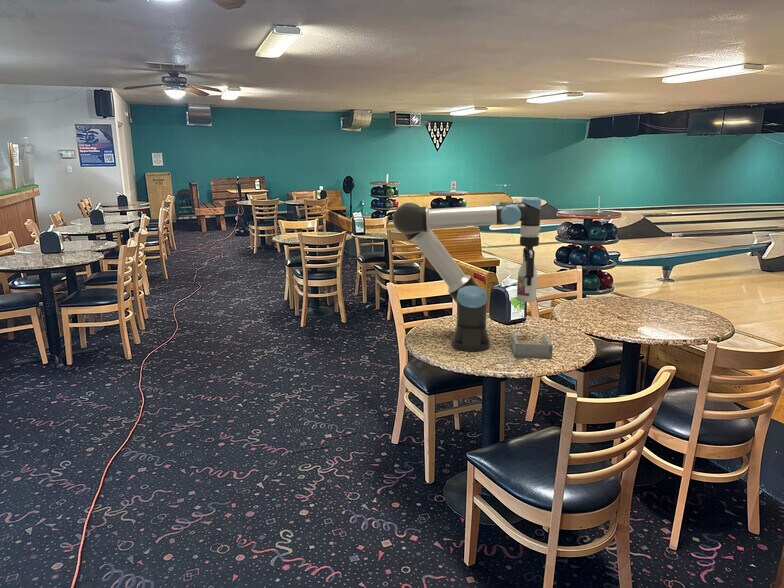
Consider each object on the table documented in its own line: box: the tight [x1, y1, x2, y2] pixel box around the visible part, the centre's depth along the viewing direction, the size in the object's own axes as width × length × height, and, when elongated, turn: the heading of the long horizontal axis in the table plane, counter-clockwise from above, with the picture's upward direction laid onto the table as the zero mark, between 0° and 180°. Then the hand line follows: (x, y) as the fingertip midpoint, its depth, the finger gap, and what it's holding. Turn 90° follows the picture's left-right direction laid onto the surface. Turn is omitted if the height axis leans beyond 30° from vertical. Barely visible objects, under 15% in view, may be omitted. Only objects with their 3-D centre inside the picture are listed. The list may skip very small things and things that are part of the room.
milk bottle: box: [516, 252, 538, 303], centre depth 216 cm, size 8×8×20 cm
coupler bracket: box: [510, 331, 554, 359], centre depth 204 cm, size 13×16×5 cm
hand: (526, 290), depth 218 cm, fingers closed on milk bottle, 8 cm apart
